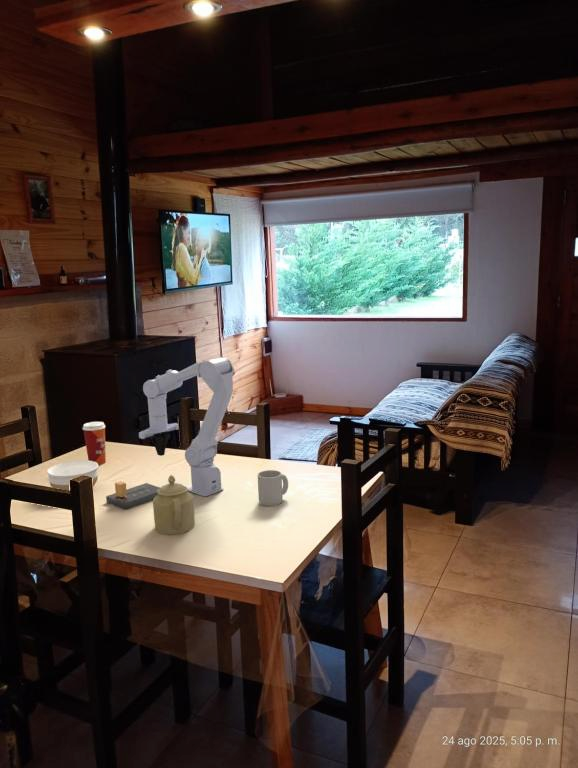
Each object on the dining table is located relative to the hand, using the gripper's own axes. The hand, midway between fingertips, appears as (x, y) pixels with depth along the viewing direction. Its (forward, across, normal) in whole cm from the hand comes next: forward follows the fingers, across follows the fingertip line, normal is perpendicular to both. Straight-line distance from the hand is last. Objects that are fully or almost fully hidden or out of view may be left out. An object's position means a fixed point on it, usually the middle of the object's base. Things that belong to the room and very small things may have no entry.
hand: (160, 454), depth 211 cm
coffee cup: (+10, +1, -39) cm, 40 cm away
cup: (+10, -11, +41) cm, 44 cm away
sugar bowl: (+10, +20, +34) cm, 41 cm away
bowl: (+10, +22, -18) cm, 30 cm away
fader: (+8, +19, +4) cm, 21 cm away
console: (+10, +14, +5) cm, 18 cm away
